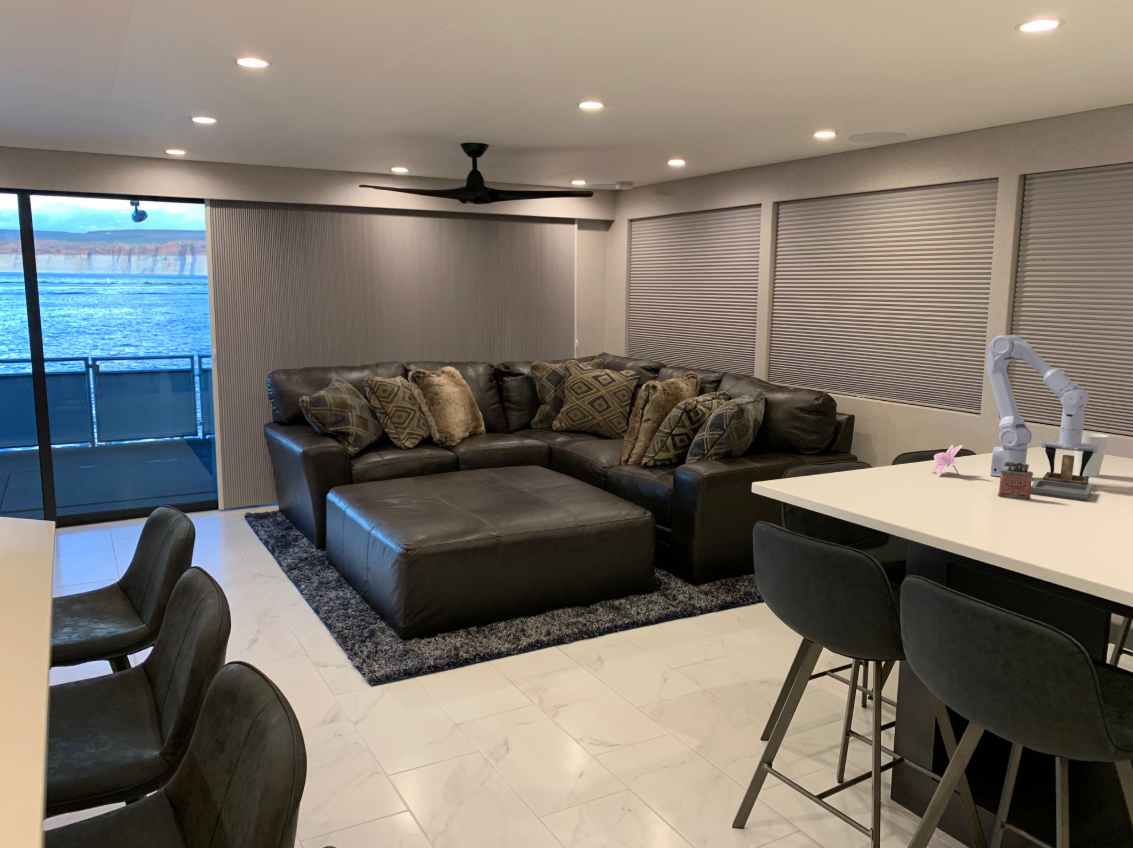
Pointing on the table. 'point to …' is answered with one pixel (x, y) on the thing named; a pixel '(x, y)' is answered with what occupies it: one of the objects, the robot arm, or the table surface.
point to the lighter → (1015, 481)
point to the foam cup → (1096, 459)
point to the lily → (946, 459)
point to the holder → (1075, 480)
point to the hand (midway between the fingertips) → (1066, 474)
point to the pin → (1067, 467)
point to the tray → (1061, 490)
